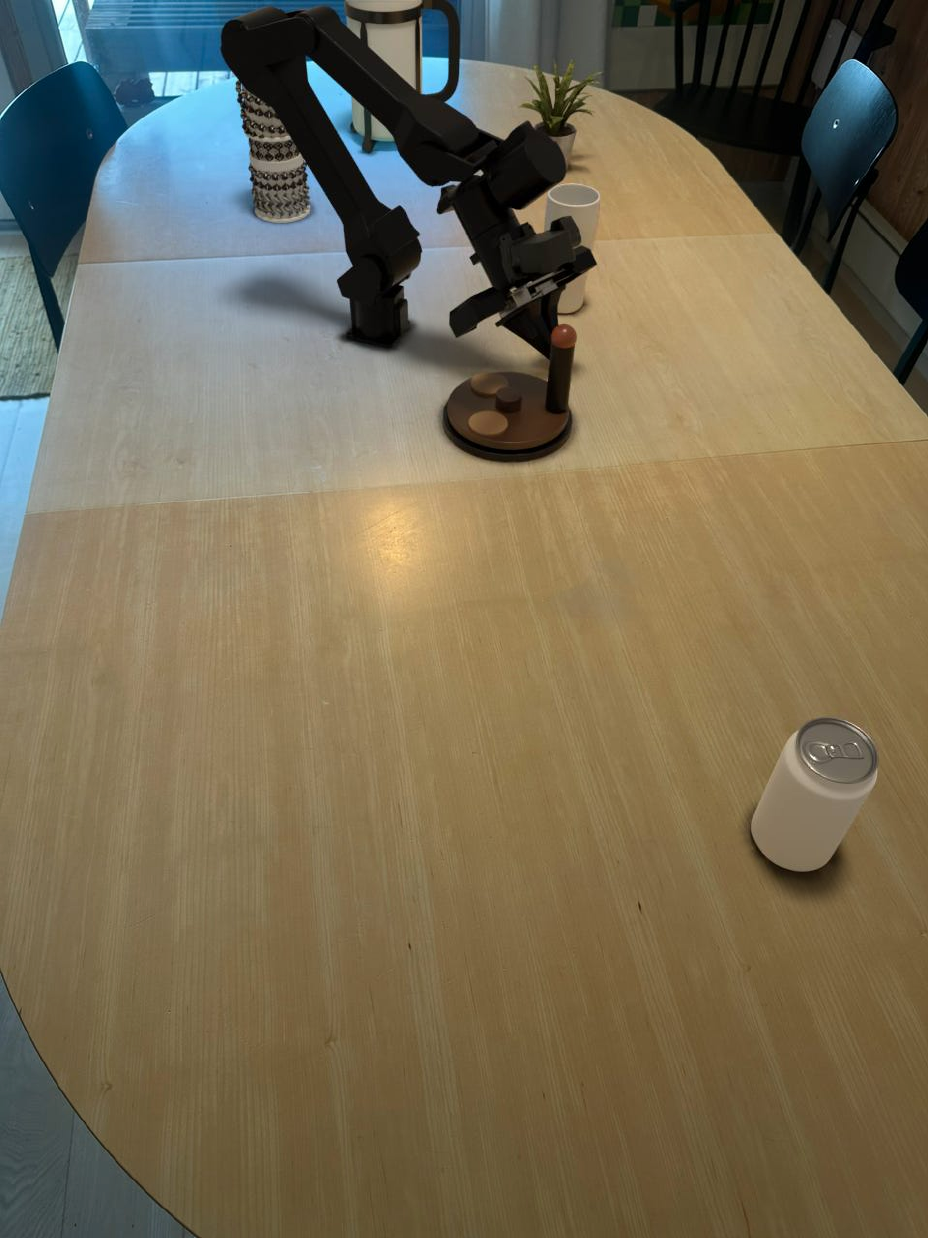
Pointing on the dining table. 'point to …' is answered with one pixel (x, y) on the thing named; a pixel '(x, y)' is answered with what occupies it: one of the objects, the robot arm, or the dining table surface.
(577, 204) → the drinking glass
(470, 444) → the base
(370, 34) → the coffee press
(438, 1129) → the dining table surface
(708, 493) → the dining table surface
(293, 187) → the decorative candle
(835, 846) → the can
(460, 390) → the turntable with crank handle
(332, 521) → the dining table surface
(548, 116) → the house plant
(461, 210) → the robot arm
